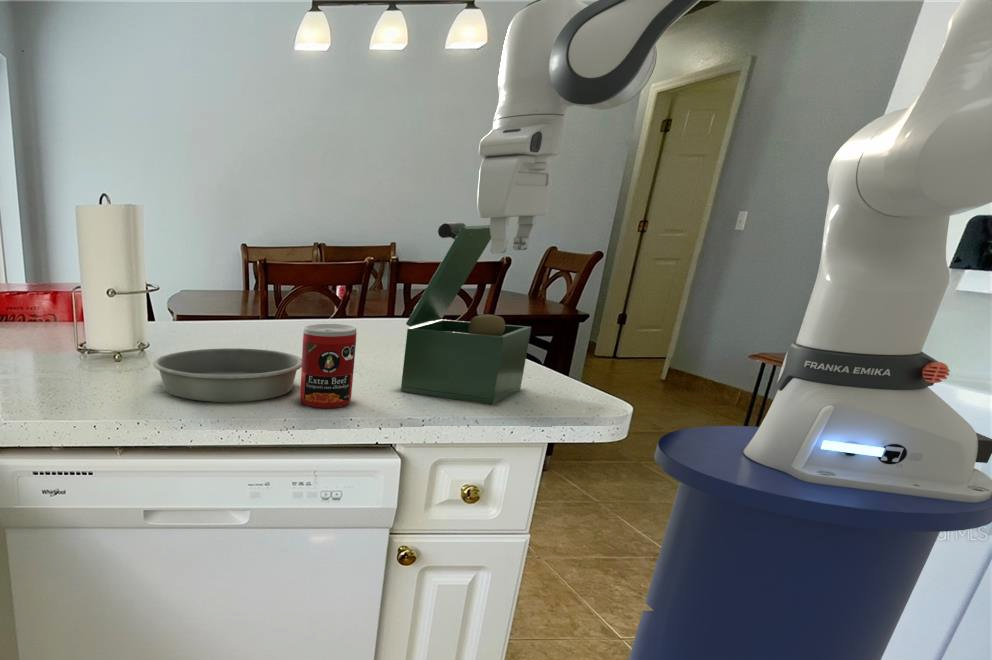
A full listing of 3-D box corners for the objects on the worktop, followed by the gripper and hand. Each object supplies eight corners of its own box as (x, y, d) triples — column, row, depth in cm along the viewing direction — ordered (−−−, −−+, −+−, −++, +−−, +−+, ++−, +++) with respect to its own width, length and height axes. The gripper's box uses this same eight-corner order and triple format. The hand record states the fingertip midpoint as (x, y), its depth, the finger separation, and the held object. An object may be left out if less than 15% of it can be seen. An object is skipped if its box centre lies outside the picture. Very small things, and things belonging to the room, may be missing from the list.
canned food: (299, 408, 105) (303, 331, 100) (299, 395, 112) (303, 323, 107) (352, 409, 104) (358, 332, 99) (349, 396, 111) (355, 323, 106)
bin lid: (498, 227, 108) (471, 211, 110) (466, 229, 100) (438, 212, 102) (442, 317, 118) (418, 302, 120) (409, 326, 110) (384, 309, 111)
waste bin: (520, 389, 114) (531, 326, 110) (492, 404, 105) (503, 337, 101) (432, 378, 123) (440, 319, 119) (400, 391, 114) (407, 328, 110)
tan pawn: (459, 390, 110) (469, 317, 106) (455, 382, 115) (465, 312, 111) (500, 392, 109) (513, 318, 104) (494, 384, 114) (506, 313, 110)
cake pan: (293, 371, 129) (294, 346, 127) (311, 405, 106) (313, 374, 104) (158, 372, 129) (157, 347, 127) (148, 405, 107) (147, 375, 105)
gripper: (525, 149, 106) (511, 248, 112) (474, 141, 92) (461, 255, 98) (570, 145, 103) (553, 248, 108) (525, 136, 88) (508, 255, 94)
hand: (509, 251), depth 103 cm, fingers open, 8 cm apart
